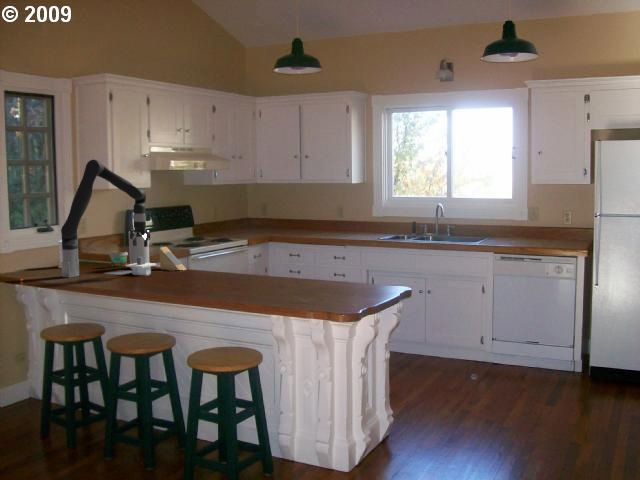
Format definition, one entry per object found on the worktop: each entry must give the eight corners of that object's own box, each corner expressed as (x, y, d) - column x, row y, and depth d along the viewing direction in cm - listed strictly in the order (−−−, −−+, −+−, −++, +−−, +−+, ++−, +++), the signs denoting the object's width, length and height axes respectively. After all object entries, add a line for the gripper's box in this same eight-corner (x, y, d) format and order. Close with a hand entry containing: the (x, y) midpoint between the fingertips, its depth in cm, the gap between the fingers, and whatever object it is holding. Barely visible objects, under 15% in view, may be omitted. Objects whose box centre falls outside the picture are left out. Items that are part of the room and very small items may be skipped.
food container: (109, 268, 458) (108, 253, 457) (109, 267, 464) (109, 252, 463) (128, 267, 461) (127, 252, 460) (128, 266, 467) (127, 251, 466)
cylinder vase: (143, 267, 462) (141, 230, 459) (153, 268, 453) (151, 231, 450) (126, 269, 453) (125, 231, 450) (136, 271, 444) (135, 232, 442)
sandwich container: (180, 271, 442) (179, 248, 440) (160, 270, 447) (159, 247, 445) (187, 269, 450) (186, 246, 448) (167, 268, 455) (166, 246, 453)
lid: (142, 267, 420) (141, 259, 420) (126, 266, 426) (125, 257, 426) (156, 265, 432) (155, 256, 431) (140, 263, 438) (139, 255, 437)
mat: (121, 275, 425) (121, 274, 425) (102, 274, 432) (102, 273, 432) (139, 272, 439) (139, 271, 439) (120, 270, 446) (120, 269, 446)
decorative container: (63, 265, 472) (62, 239, 470) (79, 265, 471) (78, 239, 469) (55, 268, 461) (53, 241, 459) (71, 268, 460) (70, 241, 458)
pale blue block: (142, 276, 422) (142, 267, 421) (128, 275, 427) (128, 266, 426) (154, 273, 432) (154, 265, 431) (140, 272, 437) (140, 264, 436)
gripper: (126, 220, 426) (127, 246, 427) (144, 221, 419) (145, 247, 421) (134, 219, 432) (135, 245, 434) (152, 220, 426) (153, 246, 428)
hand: (140, 246), depth 427 cm, fingers open, 8 cm apart
